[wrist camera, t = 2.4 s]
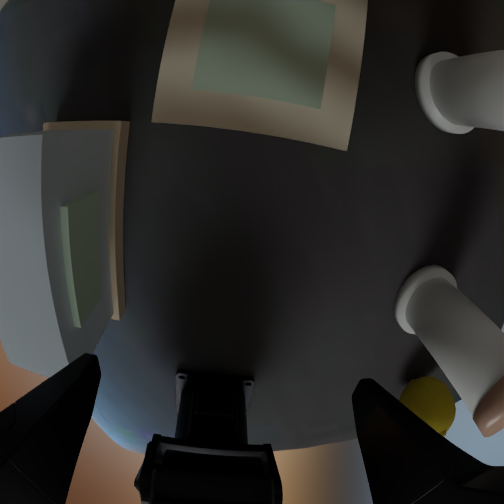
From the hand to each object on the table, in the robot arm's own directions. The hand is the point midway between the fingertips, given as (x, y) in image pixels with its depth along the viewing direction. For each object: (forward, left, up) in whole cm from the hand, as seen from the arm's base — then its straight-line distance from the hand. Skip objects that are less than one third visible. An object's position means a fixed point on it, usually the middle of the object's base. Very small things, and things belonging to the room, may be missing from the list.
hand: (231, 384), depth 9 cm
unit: (+1, +10, -11) cm, 15 cm away
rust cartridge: (-2, -16, -11) cm, 20 cm away
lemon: (-12, -20, -11) cm, 26 cm away
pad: (+13, 0, -11) cm, 17 cm away
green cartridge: (+14, -13, -11) cm, 22 cm away
